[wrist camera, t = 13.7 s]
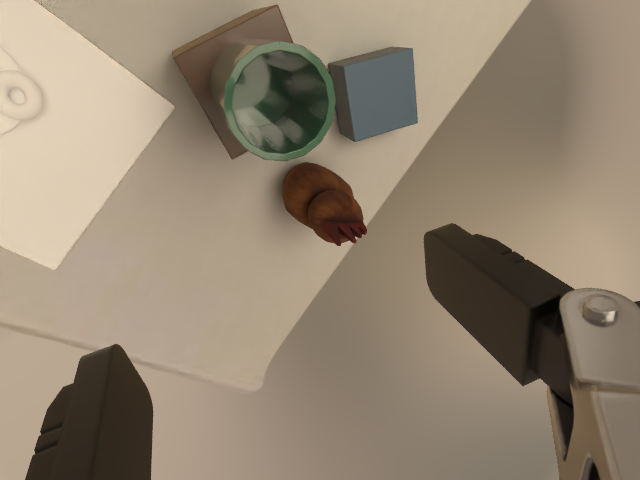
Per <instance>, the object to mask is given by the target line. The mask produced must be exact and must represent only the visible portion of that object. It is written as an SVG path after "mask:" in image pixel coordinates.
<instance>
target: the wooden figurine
mask: <svg viewBox="0 0 640 480" xmlns="http://www.w3.org/2000/svg"><path fill="white" fill-rule="evenodd" d="M282 196H283V200H284V203H285V207H286V209H287V211H288V212H289V213H290V214H291V215H292V216H293V217H294V218H296V219H297V220H298V221H299V222H301V223H303V224H304V225H306V226H308V227H310V228H312V229H313V230H314V231H315V233H316V234H317V235H318V236H319V237H320V238H322V239H323V240H325V241H327V242H330V243H335V244H336V245H337V246H341V243H343V242H346V241H349V240H350V241H351V242H352V243H356V239H355V236H356V237H358V238H361V237H362V234H364V235H365V234H366V233H367V229H366V227H365V225H364V223H363V215H362V210H361V207H360V206H359V204H358V203H357V201H356V200H355V199H354V197H353V193H352V189H351V187H350V186H349V184H347V183H346V182H345V181H344V180H343V179H342V178H341V177H339V176H338V175H337V174H335V173H334V172H332V171H330V170H328V169H326V168H324V167H322V166H320V165H317V164H313V163H308V162H305V163H302V164H299V165H297V166H295V167H294V168H293V169H292V170H291V171H290V172H289V173H288V175H287V176H286V178H285V180H284V183H283V190H282Z"/></svg>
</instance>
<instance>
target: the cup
mask: <svg viewBox="0 0 640 480" xmlns="http://www.w3.org/2000/svg"><path fill="white" fill-rule="evenodd" d="M210 92H211V96H212V99H213V102H214V104H215V107H216V109H217V111H218V112H219V114H220V116H221V117H222V119H223V120H224V122H225V123H226V125H227V126H228V128H229V130H230V131H231V133H232V134H233V135H234V136H235V137H236V139H237V140H238V141H239V142H240V144H241V145H242V146H243V147H244V148H245V149H246V150H248V151H249V152H251V153H253V154H255V155H257V156H259V157H261V158H262V159H265V160H276V161H288V160H291V159H294V158H298V157H301V156H304V155H306V154H307V153H308V152H309V151H311V150H312V149H313V148H314V147H316V146H317V145H318V144H319V143H320V142H321V141H322V140H323V138H324V136H325V135H326V133H327V131H328V130H329V128H330V126H331V123H332V121H333V115H334V110H335V105H336V98H335V92H334V86H333V80H332V78H331V76H330V74H329V73H328V71H327V69H326V68H325V66H324V64H323V63H322V61H321V60H320V58H318V57H317V56H315V55H314V54H313V53H311V52H310V51H309V50H307V49H306V48H305V47H303V46H301V45H298V44H293V43H288V42H283V41H277V40H265V39H254V38H253V39H252V38H251V39H246V40H241V41H238V42H235V43H233V44H231V45H230V46H228V47H227V48H225V49H224V50H223V51H222V52H221V54H220V55H219V56H218V57H217V59H216V61H215V63H214V65H213V67H212V71H211V76H210Z"/></svg>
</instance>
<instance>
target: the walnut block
mask: <svg viewBox="0 0 640 480" xmlns="http://www.w3.org/2000/svg"><path fill="white" fill-rule="evenodd" d="M251 38H252V39H253V38H254V39H265V40H277V41H283V42H288V43H293V41H292V39H291V36H290V34H289V31H288V29H287V27H286V24H285V22H284V19H283V17H282V14H281V12H280V9H279V7H278V5H273V6H269V7H265V8H261V9H256V10H253V11H251V12H249V13H247V14H245V15H243V16H241V17H239V18H237V19H235V20H233V21H231V22H229V23H227V24H225V25H223V26H221V27H219V28H217V29H215V30H213V31H211V32H209V33H207V34H205V35H203V36H201V37H199V38H197V39H195V40H193V41H191V42H189V43H188V44H186V45H184V46H182V47H180V48H178V49H176V50H174V51H172V53H173V57H174V59H175V61H176V63H177V65H178V66H179V68H180V70H181V72H182V73H183V75H184V77H185V79H186V80H187V82H188V84H189V86H190V87H191V89H192V91H193V92H194V94H195V96H196V98H197V99H198V101H199V103H200V105H201V106H202V108H203V110H204V112H205V113H206V115H207V117H208V119H209V120H210V122H211V124H212V126H213V127H214V129H215V131H216V132H217V134H218V136H219V138H220V139H221V141H222V143H223V145H224V146H225V148H226V150H227V152H228V153H229V155H230V157H231V159H234V158H236V157H238V156H240V155H242V154H244V153H245V152H247V151H248V150H246V149H245V148H244V147H243V146H242V145H241V144H240V142H239V141H238V140H237V139H236V137H235V136H234V135H233V134H232V133H231V131H230V130H229V128H228V126H227V125H226V123H225V122H224V120H223V119H222V117H221V116H220V114H219V112H218V111H217V109H216V107H215V104H214V102H213V99H212V96H211V92H210V76H211V71H212V67H213V65H214V63H215V61H216V59H217V57H218V56H219V55H220V54H221V52H222V51H223V50H224V49H225V48H227V47H228V46H230V45H231V44H233V43H235V42H238V41H241V40H246V39H251Z"/></svg>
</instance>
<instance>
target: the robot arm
mask: <svg viewBox="0 0 640 480" xmlns="http://www.w3.org/2000/svg"><path fill="white" fill-rule="evenodd" d="M424 249H425V264H426V278H427V283H428V286H429V289H430V291H431V293H432V295H433V296H434V298H435V299H436V300H437V301H438V302H439V303H440V304H441V305H442V306H443V307H444V308H445V309H446V310H447V311H448V312H449V313H450V314H451V315H452V316H453V317H454V318H455V319H456V320H457V321H458V322H459V323H460V324H461V325H462V326H463V327H464V328H465V329H466V330H467V331H468V332H469V333H470V334H471V335H472V336H473V337H474V338H475V339H476V340H477V341H478V342H479V343H480V344H481V345H482V346H483V347H484V348H485V349H486V350H487V351H488V352H489V353H490V354H491V355H492V356H493V357H494V358H495V359H496V360H497V361H498V362H499V363H500V364H502V366H503V367H504V368H505V369H506V370H507V371H508V372H509V373H510V374H511V375H512V376H513V377H514V378H515V379H516V380H517V381H518V382H519V383H520V384H521V385H522V386H524V385H526V384H529V383H531V382H533V381H535V380H537V379H539V378H541V379H542V380H543V381H544V382H545V383H546V384H547V385H548V387H547V399H548V406H549V412H550V417H551V425H552V430H553V437H554V444H555V450H556V456H557V463H558V469H559V480H640V301H637V302H633V301H632V300H630V299H628V298H627V297H625V296H623V295H620V294H618V293H615V292H612V291H608V290H603V289H598V288H597V289H596V288H582V289H576V290H575V289H573V288H572V287H570V286H568V285H567V284H565V283H564V282H562V281H561V280H559V279H558V278H556V277H554V276H553V275H551V274H550V273H548V272H546V271H545V270H543V269H542V268H540V267H539V266H537V265H535V264H534V263H532V262H530V261H529V260H525V259H524V257H523V256H521V255H520V254H518V253H516V252H512V250H511V249H510V248H508V247H507V246H505V245H504V244H502V243H500V242H499V241H497V240H495V239H492V238H489V237H485V236H482V235H479V234H475V235H471V234H470V233H468V232H467V231H465V230H464V229H462V228H461V227H459V226H457V225H456V224H453V223H451V224H448V225H445V226H442V227H440V228H437V229H434V230H432V231H429V232H426V233H425V235H424ZM152 427H153V405H152V400H151V397H150V394H149V391H148V389H147V387H146V385H145V383H144V382H143V380H142V379H141V377H140V375H139V374H138V372H137V370H136V369H135V367H134V366H133V364H132V362H131V361H130V359H129V358H128V356H127V354H126V353H125V351H124V350H123V348H122V347H121V346H120V345H118V344H115V345H112V346H109V347H107V348H104V349H101V350H98V351H96V352H93V353H90V354H87V355H85V356H82V357H81V359H80V361H79V364H78V368H77V372H76V375H75V379H74V383H73V384H70V385H67V386H65V387H63V388H62V390H61V391H60V392H59V394H58V395H57V396H56V398H55V399H54V401H53V402H52V403H51V405H50V406H49V408H48V409H47V412H46V415H45V418H44V421H43V425H42V428H41V431H40V432H41V435H40V436H39V437H38V440H37V443H36V447H35V450H34V451H35V455H33V456H32V459H31V462H30V466H29V469H28V472H27V475H26V479H25V480H151V459H152V458H151V457H152V429H153V428H152Z"/></svg>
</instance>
